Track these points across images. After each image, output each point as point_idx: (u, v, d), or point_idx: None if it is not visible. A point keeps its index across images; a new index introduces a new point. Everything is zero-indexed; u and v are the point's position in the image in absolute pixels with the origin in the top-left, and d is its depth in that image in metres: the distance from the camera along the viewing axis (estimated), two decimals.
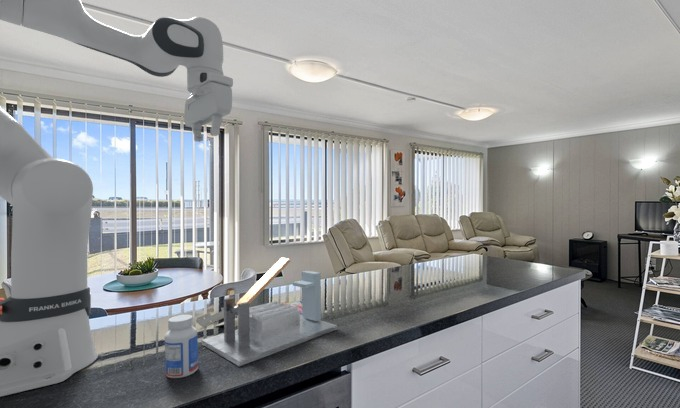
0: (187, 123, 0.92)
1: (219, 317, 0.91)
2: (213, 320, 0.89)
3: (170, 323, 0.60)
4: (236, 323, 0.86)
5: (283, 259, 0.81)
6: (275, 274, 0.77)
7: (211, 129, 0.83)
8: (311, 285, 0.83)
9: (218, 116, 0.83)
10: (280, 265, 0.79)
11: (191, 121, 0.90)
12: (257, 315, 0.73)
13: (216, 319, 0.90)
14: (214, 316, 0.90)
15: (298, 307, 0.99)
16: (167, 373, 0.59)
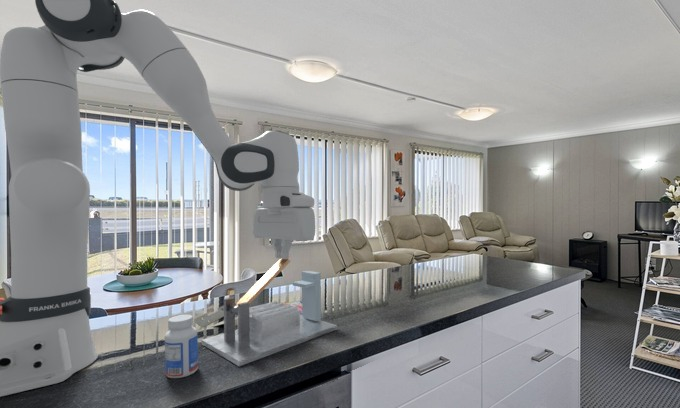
0: (257, 236, 0.84)
1: (216, 317, 0.91)
2: (211, 320, 0.89)
3: (170, 323, 0.60)
4: (235, 322, 0.87)
5: (283, 259, 0.81)
6: (275, 274, 0.77)
7: (281, 253, 0.79)
8: (311, 285, 0.83)
9: (288, 240, 0.79)
10: (280, 265, 0.79)
11: (263, 236, 0.83)
12: (257, 315, 0.73)
13: (213, 319, 0.90)
14: (211, 316, 0.90)
15: (298, 307, 0.99)
16: (167, 373, 0.59)
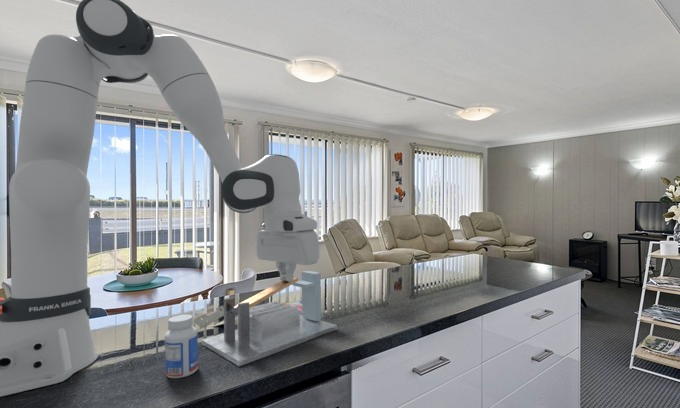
0: (261, 258, 0.85)
1: (215, 317, 0.91)
2: (210, 320, 0.89)
3: (170, 323, 0.60)
4: (235, 322, 0.87)
5: None
6: (281, 288, 0.78)
7: (285, 276, 0.80)
8: (311, 285, 0.83)
9: None
10: (287, 282, 0.80)
11: (267, 259, 0.83)
12: (257, 315, 0.73)
13: (212, 319, 0.90)
14: (210, 316, 0.90)
15: (298, 307, 0.99)
16: (167, 373, 0.59)
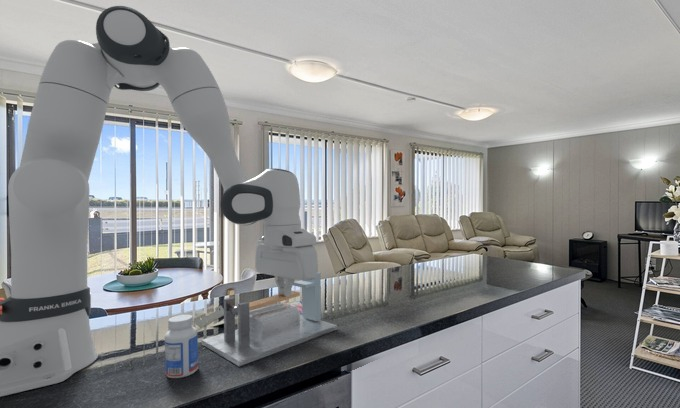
0: (260, 271, 0.84)
1: (214, 317, 0.91)
2: (209, 320, 0.89)
3: (170, 323, 0.60)
4: None
5: (294, 291, 0.83)
6: (283, 298, 0.78)
7: (283, 290, 0.79)
8: (311, 285, 0.83)
9: None
10: None
11: (266, 272, 0.83)
12: (257, 315, 0.73)
13: (211, 319, 0.90)
14: (209, 316, 0.90)
15: (298, 307, 0.99)
16: (167, 373, 0.59)
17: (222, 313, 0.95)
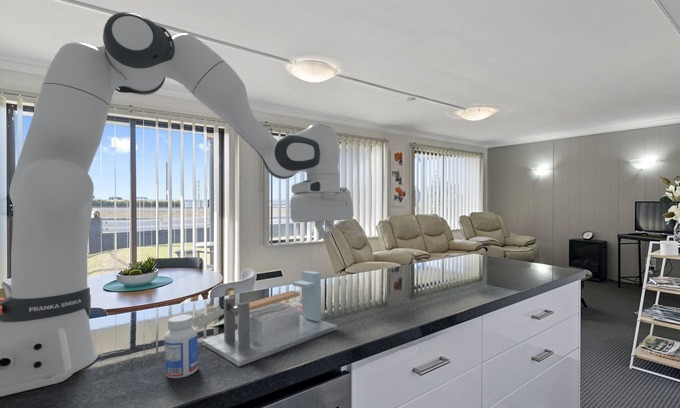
0: None
1: (213, 317, 0.91)
2: (208, 321, 0.89)
3: (170, 323, 0.60)
4: None
5: (294, 291, 0.83)
6: (283, 298, 0.78)
7: None
8: (311, 285, 0.83)
9: (317, 222, 0.89)
10: (289, 294, 0.81)
11: None
12: (257, 315, 0.73)
13: (210, 319, 0.90)
14: (208, 316, 0.90)
15: (298, 307, 0.99)
16: (167, 373, 0.59)
17: (220, 313, 0.95)
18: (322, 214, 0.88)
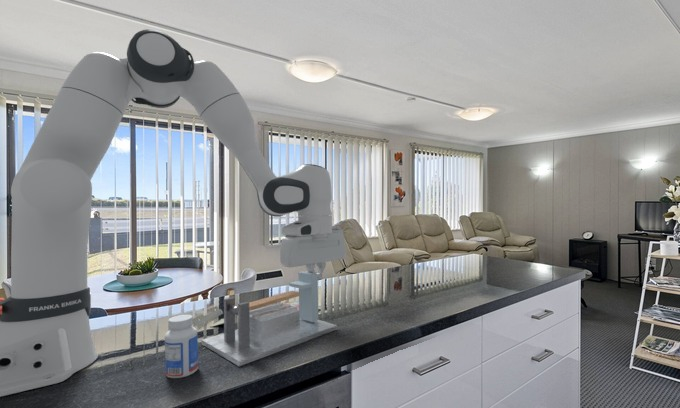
0: None
1: (211, 317, 0.91)
2: (206, 321, 0.89)
3: (170, 323, 0.60)
4: None
5: (294, 291, 0.83)
6: (283, 298, 0.78)
7: None
8: (308, 286, 0.83)
9: (308, 264, 0.86)
10: (289, 294, 0.81)
11: None
12: (257, 315, 0.73)
13: (209, 320, 0.90)
14: (206, 316, 0.90)
15: (298, 307, 0.99)
16: (167, 373, 0.59)
17: (218, 313, 0.95)
18: (313, 257, 0.85)
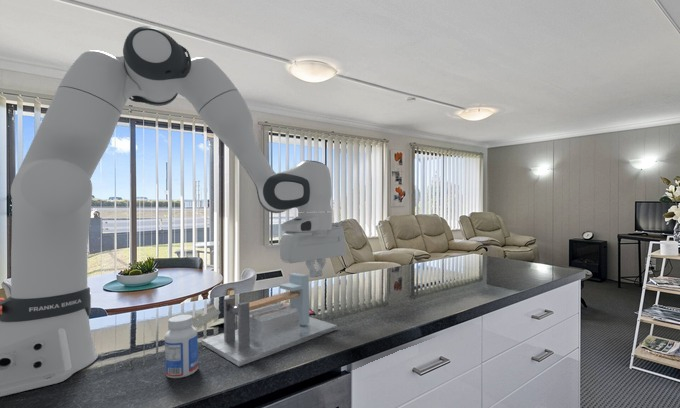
0: None
1: (209, 318, 0.91)
2: (205, 321, 0.89)
3: (170, 323, 0.60)
4: None
5: (294, 291, 0.83)
6: (283, 298, 0.78)
7: None
8: (298, 288, 0.81)
9: (308, 261, 0.86)
10: (289, 294, 0.81)
11: None
12: (257, 315, 0.73)
13: (207, 320, 0.90)
14: (205, 316, 0.90)
15: None
16: (167, 373, 0.59)
17: (216, 313, 0.95)
18: (313, 253, 0.85)
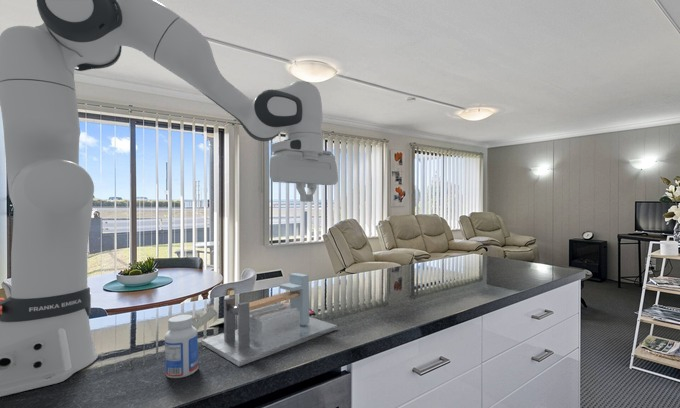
0: None
1: (207, 318, 0.91)
2: (203, 321, 0.88)
3: (170, 323, 0.60)
4: None
5: (294, 291, 0.83)
6: (283, 298, 0.78)
7: None
8: (298, 288, 0.81)
9: (299, 184, 0.85)
10: (289, 294, 0.81)
11: None
12: (257, 315, 0.73)
13: (205, 320, 0.89)
14: (203, 317, 0.89)
15: None
16: (167, 373, 0.59)
17: (213, 314, 0.95)
18: (303, 175, 0.84)
